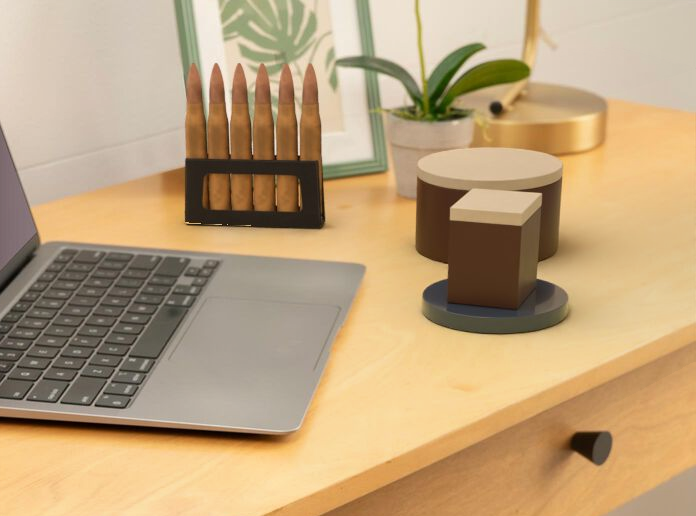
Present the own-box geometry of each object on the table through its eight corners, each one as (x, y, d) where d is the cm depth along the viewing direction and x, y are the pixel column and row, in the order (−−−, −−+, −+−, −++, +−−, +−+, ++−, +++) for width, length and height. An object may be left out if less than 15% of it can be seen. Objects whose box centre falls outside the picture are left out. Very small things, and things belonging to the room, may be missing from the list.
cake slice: (468, 280, 97) (472, 188, 94) (536, 286, 95) (542, 193, 92) (446, 303, 93) (449, 207, 90) (516, 310, 91) (522, 212, 88)
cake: (515, 222, 113) (520, 141, 110) (584, 256, 104) (590, 170, 101) (392, 237, 110) (394, 155, 107) (452, 273, 101) (455, 186, 99)
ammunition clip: (184, 224, 116) (177, 64, 110) (190, 218, 117) (184, 60, 112) (321, 228, 113) (320, 65, 108) (325, 222, 115) (325, 61, 109)
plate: (524, 281, 99) (524, 267, 99) (594, 322, 91) (596, 306, 91) (398, 298, 97) (399, 283, 97) (460, 341, 89) (461, 325, 89)
